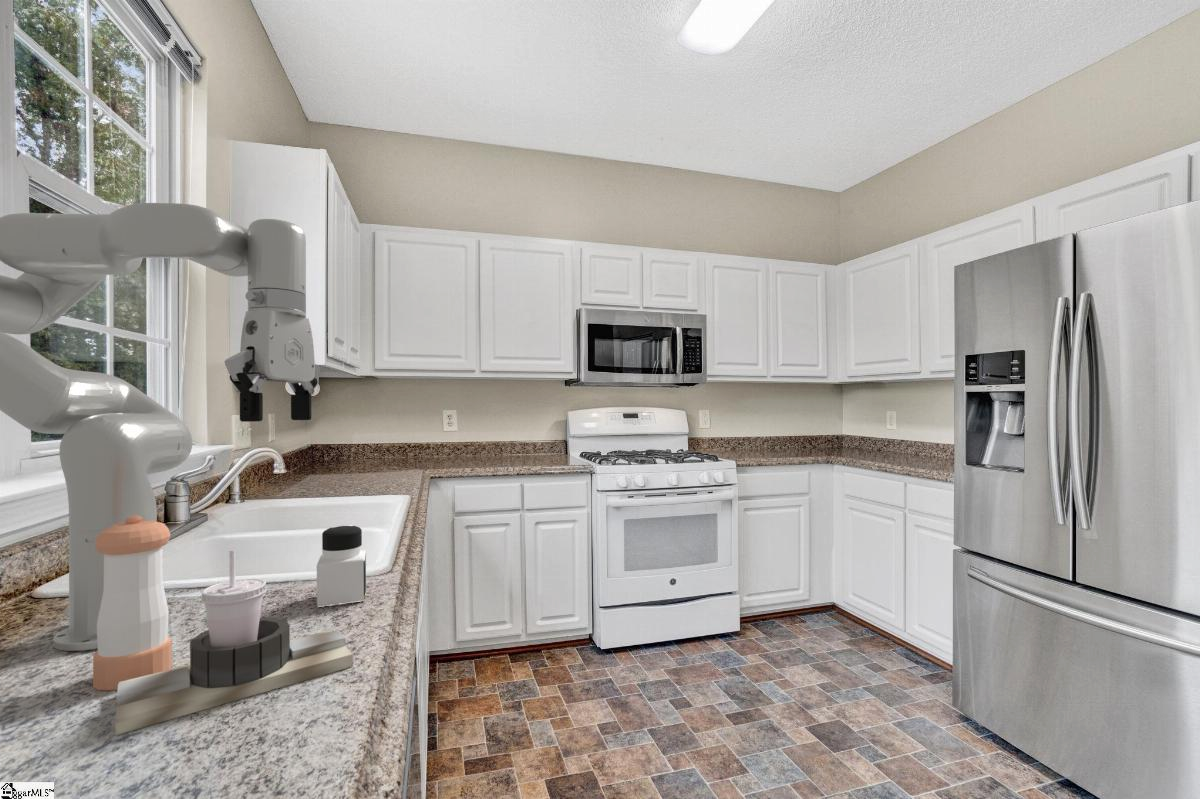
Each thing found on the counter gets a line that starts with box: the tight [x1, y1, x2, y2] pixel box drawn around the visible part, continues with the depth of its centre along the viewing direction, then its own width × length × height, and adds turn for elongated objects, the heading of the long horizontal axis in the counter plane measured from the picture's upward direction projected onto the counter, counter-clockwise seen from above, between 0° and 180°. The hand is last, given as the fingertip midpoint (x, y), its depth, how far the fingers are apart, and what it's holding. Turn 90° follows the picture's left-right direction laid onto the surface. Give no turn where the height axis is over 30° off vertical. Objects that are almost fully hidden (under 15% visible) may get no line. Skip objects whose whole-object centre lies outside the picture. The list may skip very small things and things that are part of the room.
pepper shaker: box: [92, 515, 173, 692], centre depth 67 cm, size 7×7×19 cm
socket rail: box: [115, 617, 354, 736], centre depth 65 cm, size 22×10×6 cm, turn 130°
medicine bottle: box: [316, 524, 367, 607], centre depth 93 cm, size 7×7×12 cm
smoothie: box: [200, 549, 268, 647], centre depth 64 cm, size 6×6×14 cm
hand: (277, 420), depth 82 cm, fingers open, 9 cm apart
